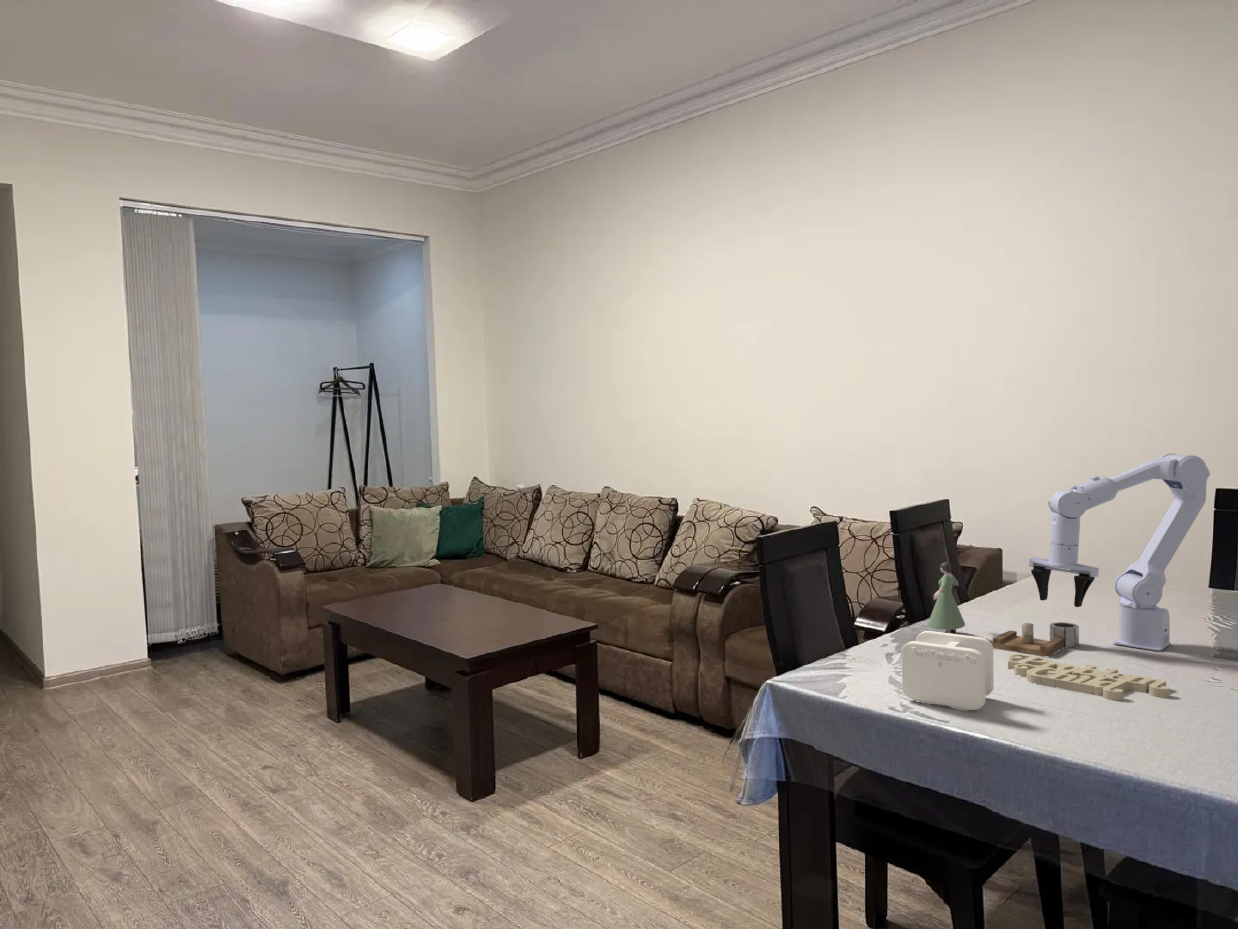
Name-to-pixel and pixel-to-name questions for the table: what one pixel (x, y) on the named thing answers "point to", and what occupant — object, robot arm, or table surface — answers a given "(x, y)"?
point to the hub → (1065, 633)
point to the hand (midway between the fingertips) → (1060, 603)
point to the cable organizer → (948, 670)
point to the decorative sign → (1084, 678)
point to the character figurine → (946, 604)
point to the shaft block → (1027, 642)
